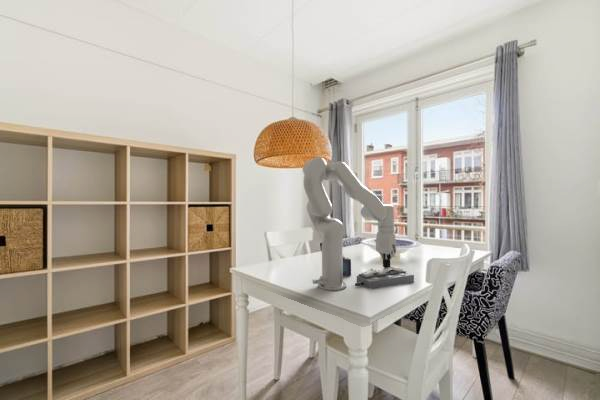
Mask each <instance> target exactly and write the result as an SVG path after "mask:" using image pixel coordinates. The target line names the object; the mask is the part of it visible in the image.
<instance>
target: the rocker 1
mask: <svg viewBox="0 0 600 400" xmlns="http://www.w3.org/2000/svg"><path fill="white" fill-rule="evenodd" d="M376 270H377V269H375V268H368V269H366V270H364V271H362V272H361V274H362V275H364V276H370V275H372V274H374V273H376Z"/></svg>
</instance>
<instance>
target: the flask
mask: <svg viewBox="0 0 600 400" xmlns="http://www.w3.org/2000/svg"><path fill="white" fill-rule="evenodd" d="M343 277H352V260H351V258H349V257H345V256H343Z"/></svg>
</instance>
